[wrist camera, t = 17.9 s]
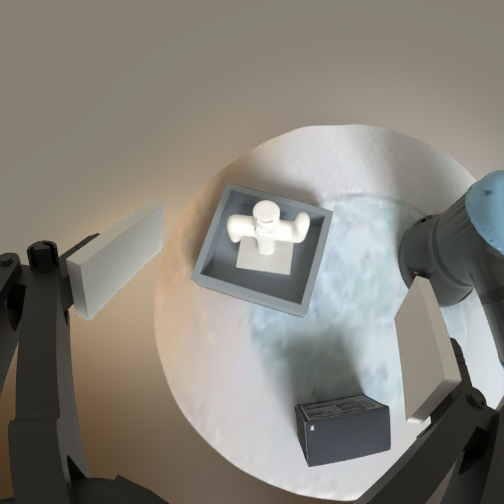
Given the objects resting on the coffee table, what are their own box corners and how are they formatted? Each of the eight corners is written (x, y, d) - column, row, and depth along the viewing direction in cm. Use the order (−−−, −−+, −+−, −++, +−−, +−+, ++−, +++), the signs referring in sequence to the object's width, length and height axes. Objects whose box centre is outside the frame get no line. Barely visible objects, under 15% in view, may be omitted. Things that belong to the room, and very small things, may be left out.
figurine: (239, 226, 49) (227, 177, 35) (301, 234, 48) (314, 187, 34) (230, 272, 47) (214, 239, 33) (295, 281, 46) (307, 251, 32)
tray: (327, 224, 49) (333, 211, 45) (302, 317, 46) (306, 314, 41) (230, 197, 52) (226, 182, 47) (198, 285, 48) (190, 278, 43)
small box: (298, 444, 40) (306, 470, 30) (294, 404, 42) (302, 421, 32) (367, 432, 40) (392, 452, 30) (365, 392, 42) (390, 404, 32)
